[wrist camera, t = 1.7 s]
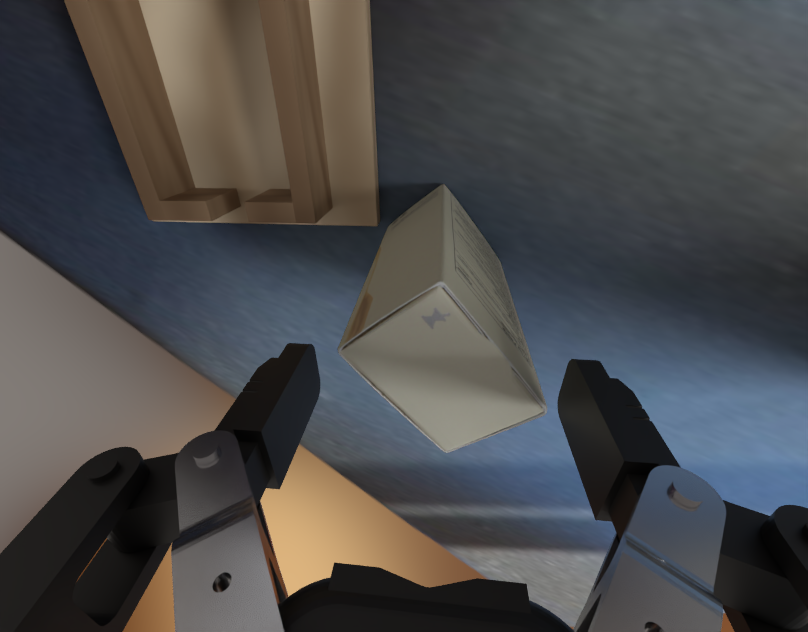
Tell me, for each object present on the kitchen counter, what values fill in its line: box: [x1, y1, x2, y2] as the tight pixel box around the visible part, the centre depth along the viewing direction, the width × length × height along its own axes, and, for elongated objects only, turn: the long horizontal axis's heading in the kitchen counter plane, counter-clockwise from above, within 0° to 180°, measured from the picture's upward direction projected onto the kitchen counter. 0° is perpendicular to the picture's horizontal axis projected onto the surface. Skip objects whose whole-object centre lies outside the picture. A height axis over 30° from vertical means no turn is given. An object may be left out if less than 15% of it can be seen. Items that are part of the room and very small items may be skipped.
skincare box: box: [338, 184, 547, 453], centre depth 17 cm, size 6×4×12 cm
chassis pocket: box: [64, 0, 380, 226], centre depth 17 cm, size 14×13×4 cm
